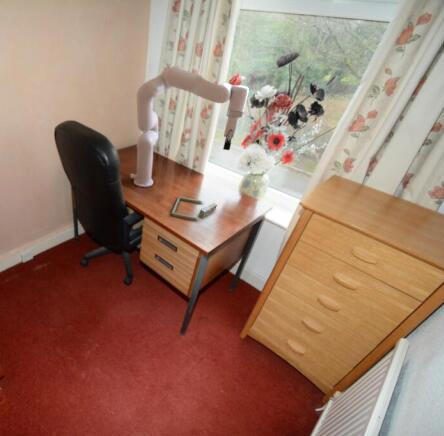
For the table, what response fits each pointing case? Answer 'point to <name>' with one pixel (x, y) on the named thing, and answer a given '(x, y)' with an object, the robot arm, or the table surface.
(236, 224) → the table surface
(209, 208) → the grey elongated block
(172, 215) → the frame
